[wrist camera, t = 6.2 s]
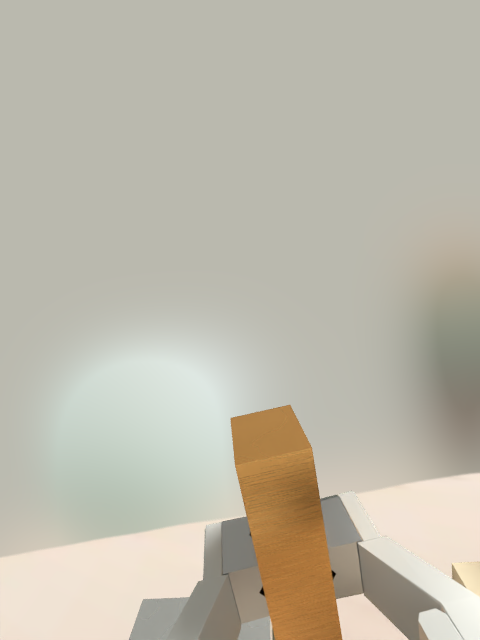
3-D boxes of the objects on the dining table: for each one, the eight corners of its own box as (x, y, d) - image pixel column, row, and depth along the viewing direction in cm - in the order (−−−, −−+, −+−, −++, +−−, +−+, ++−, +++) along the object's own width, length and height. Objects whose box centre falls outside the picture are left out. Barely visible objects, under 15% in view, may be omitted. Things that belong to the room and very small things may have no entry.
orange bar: (141, 848, 10) (-20, 511, 7) (174, 692, 13) (77, 422, 10) (454, 871, 9) (433, 469, 6) (400, 692, 12) (369, 383, 9)
